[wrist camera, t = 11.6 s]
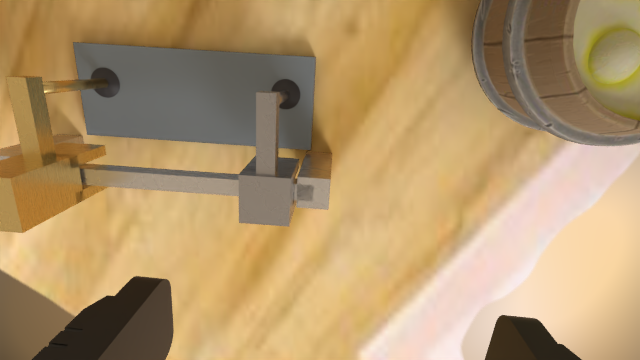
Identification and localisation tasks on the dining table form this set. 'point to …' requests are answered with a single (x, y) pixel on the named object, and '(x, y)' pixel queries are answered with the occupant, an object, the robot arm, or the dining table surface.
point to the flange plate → (193, 94)
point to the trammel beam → (250, 185)
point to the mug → (563, 66)
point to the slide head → (42, 158)
